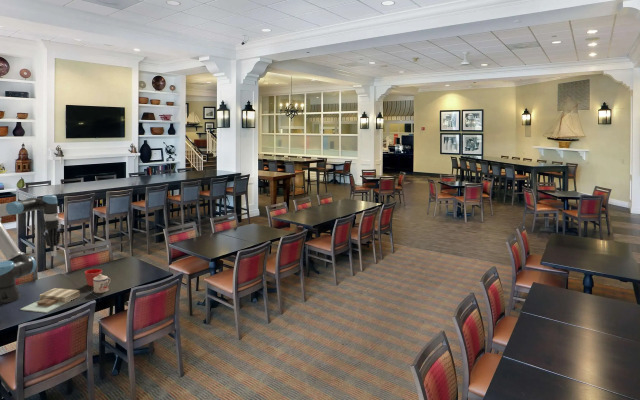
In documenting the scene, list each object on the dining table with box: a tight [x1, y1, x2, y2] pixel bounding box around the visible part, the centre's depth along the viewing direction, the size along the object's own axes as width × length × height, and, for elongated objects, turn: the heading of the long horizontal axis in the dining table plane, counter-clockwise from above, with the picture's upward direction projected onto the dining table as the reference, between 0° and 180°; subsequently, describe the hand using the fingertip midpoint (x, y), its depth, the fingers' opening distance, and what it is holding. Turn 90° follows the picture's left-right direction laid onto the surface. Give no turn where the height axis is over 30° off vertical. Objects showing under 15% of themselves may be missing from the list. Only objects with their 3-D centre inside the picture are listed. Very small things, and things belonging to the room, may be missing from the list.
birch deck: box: [39, 287, 81, 305], centre depth 260 cm, size 18×12×4 cm, turn 81°
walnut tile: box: [36, 298, 58, 307], centre depth 251 cm, size 8×7×2 cm
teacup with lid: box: [93, 273, 111, 294], centre depth 276 cm, size 12×9×12 cm
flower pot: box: [84, 268, 103, 287], centre depth 286 cm, size 11×11×10 cm
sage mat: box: [19, 299, 66, 314], centre depth 248 cm, size 18×14×1 cm
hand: (54, 255), depth 263 cm, fingers closed
